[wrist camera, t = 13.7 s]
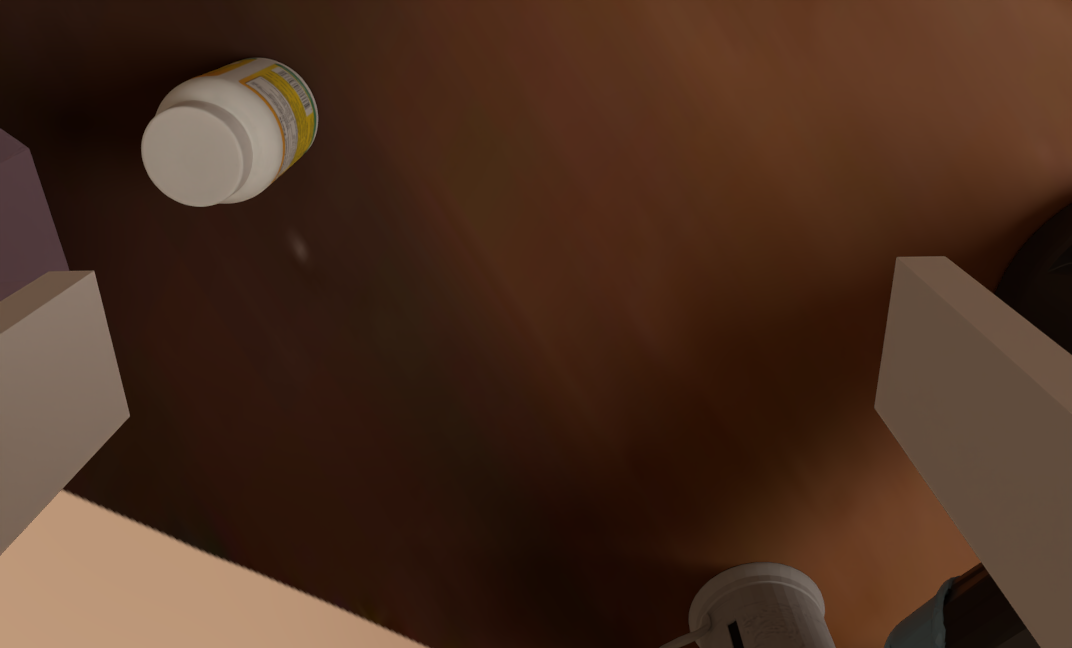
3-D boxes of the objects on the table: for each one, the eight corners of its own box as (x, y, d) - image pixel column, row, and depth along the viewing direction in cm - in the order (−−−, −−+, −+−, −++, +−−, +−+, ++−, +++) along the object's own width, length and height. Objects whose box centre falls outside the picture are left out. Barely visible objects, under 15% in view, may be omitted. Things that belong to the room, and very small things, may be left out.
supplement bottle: (328, 73, 41) (271, 110, 32) (311, 177, 43) (253, 239, 35) (216, 41, 41) (128, 71, 32) (204, 149, 43) (118, 204, 34)
